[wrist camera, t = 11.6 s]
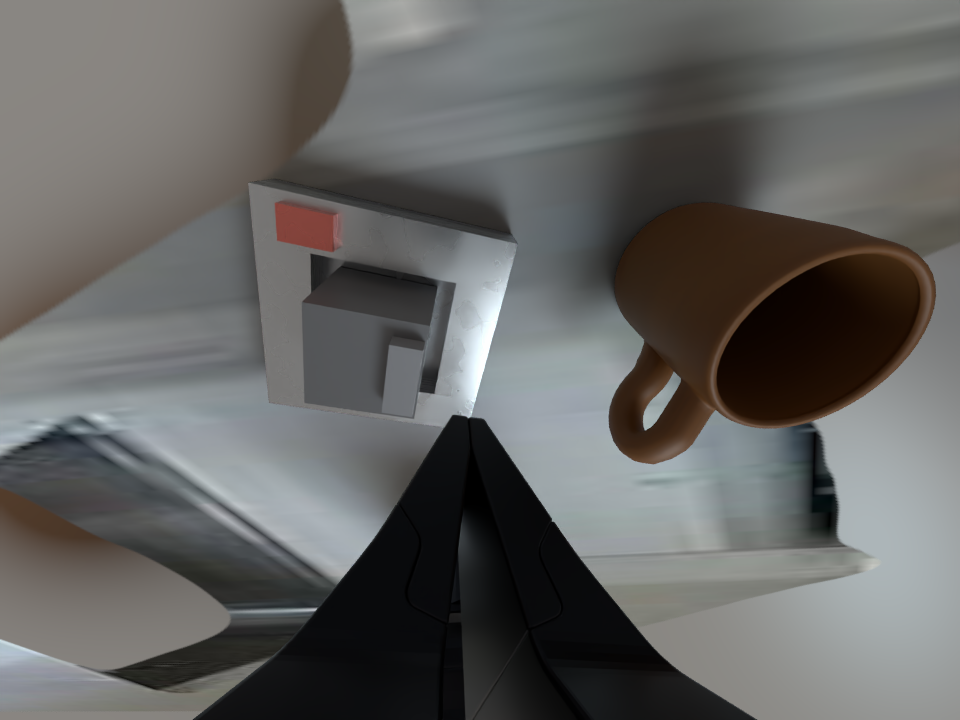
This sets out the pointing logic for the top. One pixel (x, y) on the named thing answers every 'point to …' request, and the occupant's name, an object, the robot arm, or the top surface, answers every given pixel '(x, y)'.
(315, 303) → the plug
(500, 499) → the robot arm
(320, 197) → the socket plate
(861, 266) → the mug
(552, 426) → the top surface
